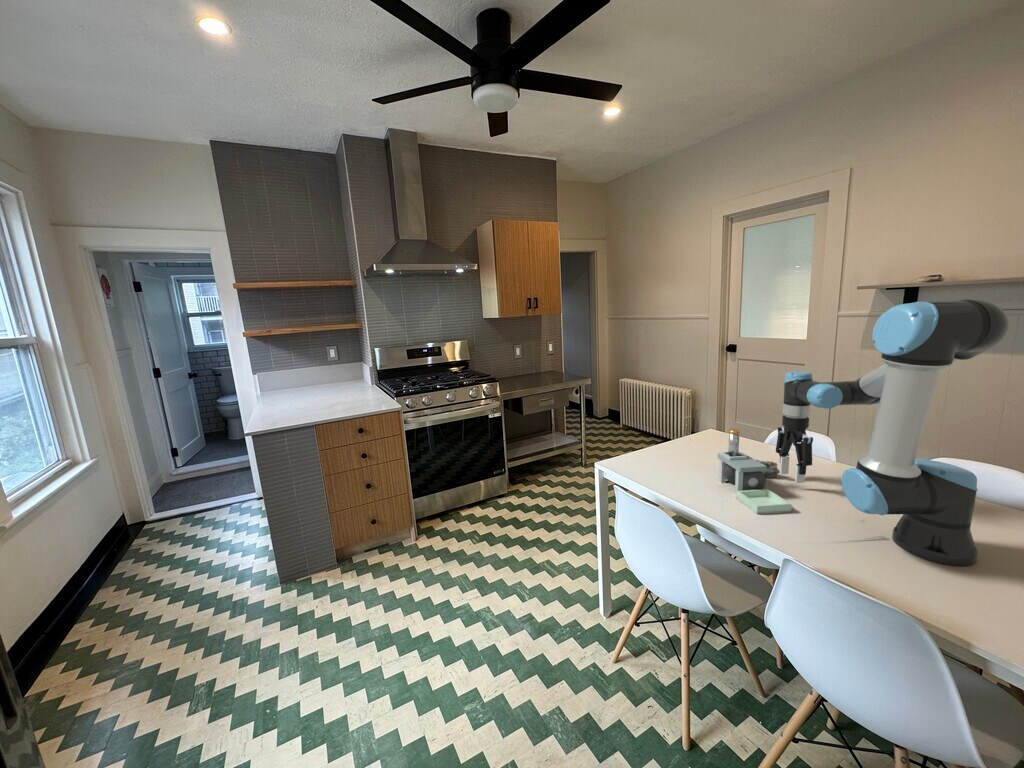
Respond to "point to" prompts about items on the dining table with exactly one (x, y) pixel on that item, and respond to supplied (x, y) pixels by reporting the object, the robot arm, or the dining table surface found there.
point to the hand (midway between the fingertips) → (791, 477)
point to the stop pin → (733, 442)
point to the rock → (770, 469)
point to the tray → (763, 501)
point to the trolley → (741, 471)
